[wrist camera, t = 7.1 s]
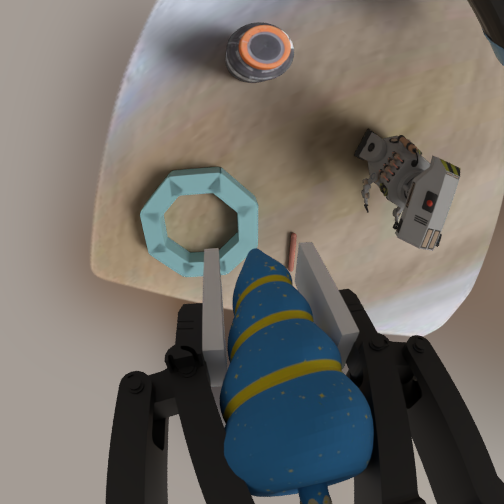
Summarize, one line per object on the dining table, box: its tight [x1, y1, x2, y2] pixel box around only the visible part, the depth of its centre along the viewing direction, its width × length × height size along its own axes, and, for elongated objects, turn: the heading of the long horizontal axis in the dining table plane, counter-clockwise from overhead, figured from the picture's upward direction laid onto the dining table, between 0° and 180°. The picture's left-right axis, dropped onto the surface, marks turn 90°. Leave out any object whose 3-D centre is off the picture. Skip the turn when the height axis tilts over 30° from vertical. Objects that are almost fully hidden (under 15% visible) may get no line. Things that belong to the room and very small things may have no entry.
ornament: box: [220, 248, 374, 504], centre depth 11 cm, size 5×5×15 cm
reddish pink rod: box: [288, 233, 297, 271], centre depth 41 cm, size 7×1×1 cm, turn 0°
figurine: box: [354, 129, 460, 251], centre depth 29 cm, size 9×12×15 cm
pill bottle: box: [226, 23, 294, 83], centre depth 21 cm, size 6×6×11 cm
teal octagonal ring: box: [140, 167, 258, 277], centre depth 36 cm, size 15×15×2 cm
